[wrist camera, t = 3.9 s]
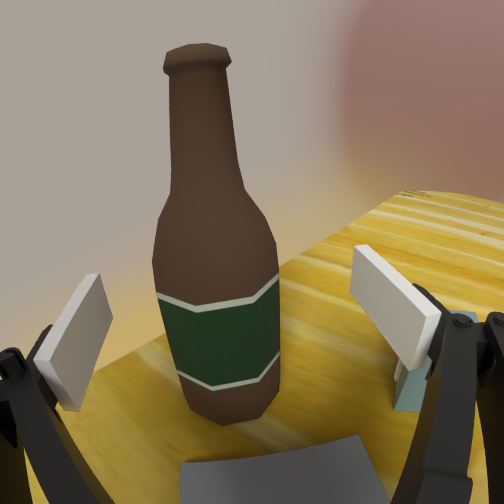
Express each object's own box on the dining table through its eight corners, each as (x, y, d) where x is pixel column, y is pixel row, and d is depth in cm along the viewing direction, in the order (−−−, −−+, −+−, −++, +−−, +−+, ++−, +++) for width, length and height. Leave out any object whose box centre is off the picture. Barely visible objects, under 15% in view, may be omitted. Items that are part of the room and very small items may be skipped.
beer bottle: (168, 382, 24) (110, 69, 15) (243, 347, 28) (220, 64, 19) (216, 445, 18) (149, 23, 9) (300, 395, 22) (300, 39, 13)
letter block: (454, 365, 22) (475, 312, 20) (460, 414, 17) (491, 360, 15) (393, 360, 25) (407, 305, 22) (389, 410, 20) (410, 355, 17)
